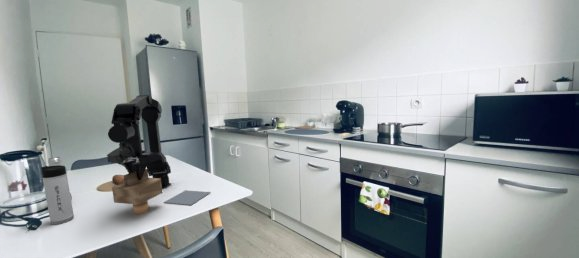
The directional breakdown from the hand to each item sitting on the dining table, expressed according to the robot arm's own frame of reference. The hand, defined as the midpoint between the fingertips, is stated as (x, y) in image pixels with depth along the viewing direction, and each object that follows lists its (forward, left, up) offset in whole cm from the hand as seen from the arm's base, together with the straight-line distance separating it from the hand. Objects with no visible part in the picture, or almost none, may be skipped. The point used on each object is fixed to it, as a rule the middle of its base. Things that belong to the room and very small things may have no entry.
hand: (136, 179), depth 94 cm
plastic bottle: (-39, -2, -12) cm, 41 cm away
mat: (+10, +14, -12) cm, 21 cm away
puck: (0, 0, -12) cm, 12 cm away
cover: (0, 0, -7) cm, 7 cm away
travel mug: (-23, -12, -12) cm, 29 cm away
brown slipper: (-37, +26, -13) cm, 47 cm away
